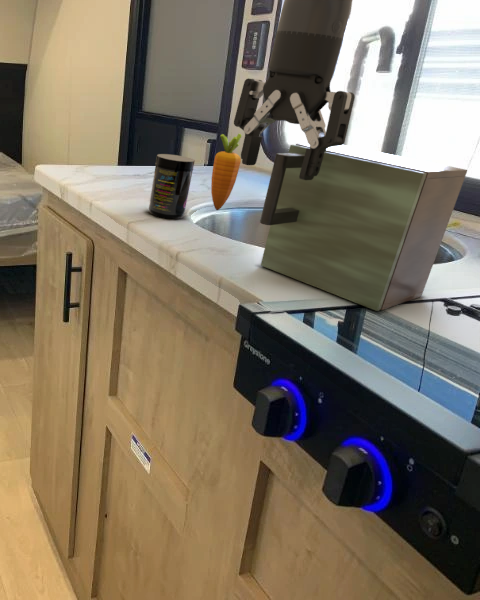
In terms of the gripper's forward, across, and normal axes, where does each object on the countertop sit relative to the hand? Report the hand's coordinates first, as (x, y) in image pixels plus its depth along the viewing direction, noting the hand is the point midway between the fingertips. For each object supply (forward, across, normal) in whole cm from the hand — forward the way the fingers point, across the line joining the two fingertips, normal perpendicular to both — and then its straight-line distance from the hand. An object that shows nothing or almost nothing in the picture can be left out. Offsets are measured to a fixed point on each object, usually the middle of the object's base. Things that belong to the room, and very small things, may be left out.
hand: (275, 171), depth 75 cm
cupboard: (+14, -6, -14) cm, 21 cm away
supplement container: (+15, +29, -14) cm, 36 cm away
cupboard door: (+14, -6, -4) cm, 16 cm away
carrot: (+15, +29, -29) cm, 44 cm away
